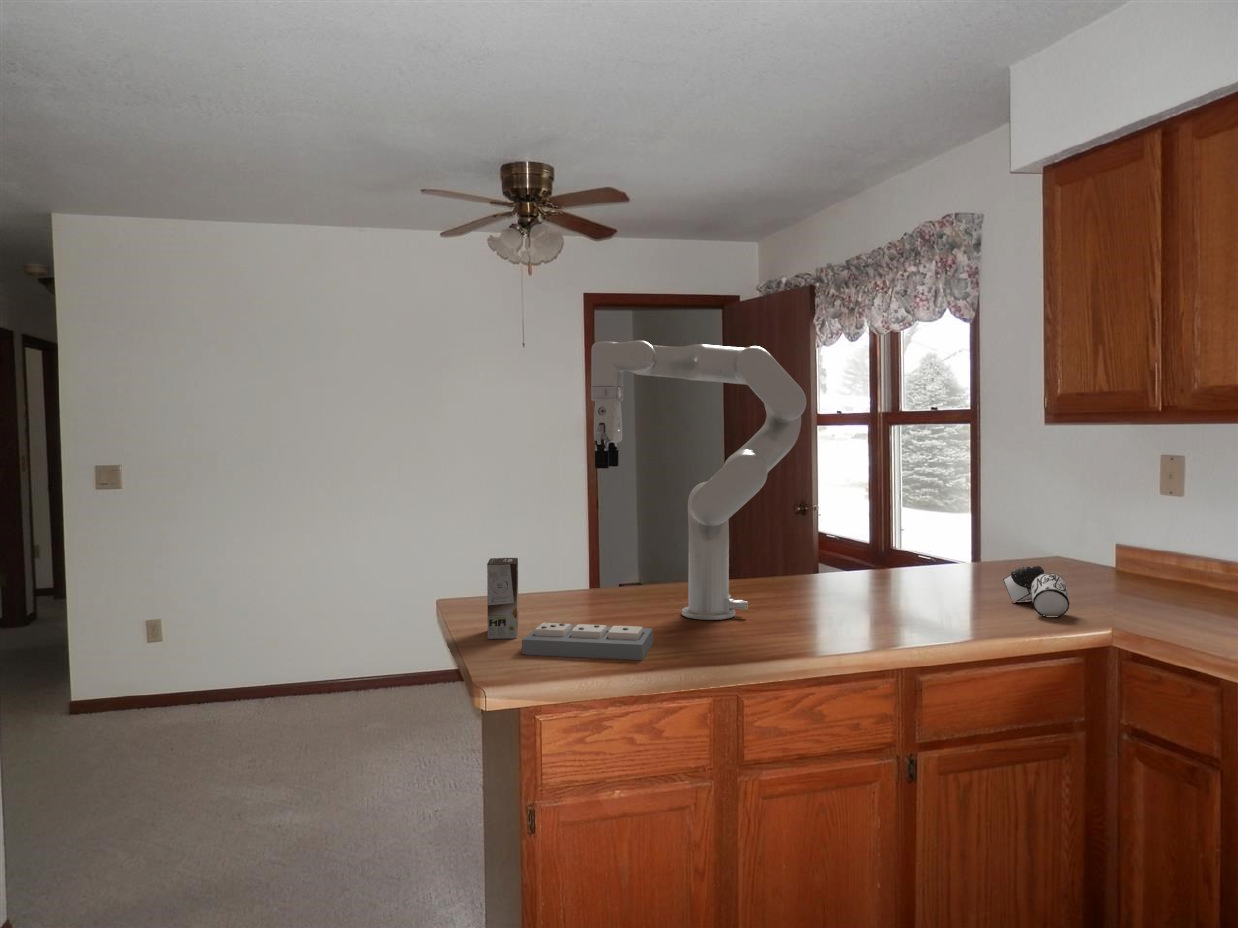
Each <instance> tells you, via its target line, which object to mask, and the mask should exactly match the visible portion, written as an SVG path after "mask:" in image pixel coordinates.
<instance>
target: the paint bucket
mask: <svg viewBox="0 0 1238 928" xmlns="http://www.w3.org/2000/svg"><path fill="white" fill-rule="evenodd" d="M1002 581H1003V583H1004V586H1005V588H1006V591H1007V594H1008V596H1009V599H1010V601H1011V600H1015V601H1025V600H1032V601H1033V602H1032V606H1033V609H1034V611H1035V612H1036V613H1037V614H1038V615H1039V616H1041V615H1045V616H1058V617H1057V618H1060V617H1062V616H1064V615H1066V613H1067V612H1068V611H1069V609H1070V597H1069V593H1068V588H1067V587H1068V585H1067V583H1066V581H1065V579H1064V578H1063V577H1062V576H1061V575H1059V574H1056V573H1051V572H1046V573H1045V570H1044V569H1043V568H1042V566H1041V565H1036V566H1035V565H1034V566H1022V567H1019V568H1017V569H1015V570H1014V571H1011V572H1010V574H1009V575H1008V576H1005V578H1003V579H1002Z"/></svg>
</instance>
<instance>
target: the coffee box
mask: <svg viewBox="0 0 1238 928" xmlns="http://www.w3.org/2000/svg"><path fill="white" fill-rule="evenodd" d="M486 566H487V567H486V569H487V570H486V573H487V581H486V582H487V586H486V587H487V590H486V591H487V592H486V593H487V639H489V640H494V639H495V640H498V639H500V640H501V639H505V640H506V639H510V640H511V639H517V637H518V632H519V559H518V557H498V558H497V557H496V558H495V557H492V558H490V559H489V560H488V562H487V563H486Z"/></svg>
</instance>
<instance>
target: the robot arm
mask: <svg viewBox="0 0 1238 928" xmlns="http://www.w3.org/2000/svg"><path fill="white" fill-rule="evenodd" d="M590 354H591V359H590V360H591V362H590V363H591V365H590V366H591V372H590V373H591V374H590V376H591V382H590V383H591V387H590V388H591V390H590V391H591V394H590V395H591V397H590V398H591V401H592V402H594V411H593V438H594V442H595V445H594V467H595V469H607V470H608V469H609V468H610V467H618V466H619V465H620V464H619V463H620V462H619V460H620V458H619V457H620V456H619V452H620V451H619V449H620V448H619V447H620V446H619V443H621V442H622V441H623V419H622V418H623V417H622V406H621V402H623V401H624V372H631V373H632V374H635V375H639V376H646V377H647V376H648V377H650V376H652V377H662V378H673V379H682V380H689V381H698V382H699V381H701V382H713V383H726V384H734V385H735V384H736V385H746V386H748V387H749V388H750V390H752V392H753V393H754V394H755V396H757V397H758V398H759V399H760V401H762V403H763V405H764V409H765V412H766V417H765V421H764V424H763V425H762V426H761V427H760V429H759V430H758V431H757V432H756V433H755V434H753V436H752V437H751V438H750V439H749V440H748V441H747V442H746V443H744V444H743V445H742V446H741V447H740V448H739V449H737V450H736V451H734V453H732V454H731V455H730V456H729V457H728V458H727V459H726V460H725V462H724V463H723V466H722V467H721V468H720V469H719V470H718V471H717V472H716V473H714V474H713V475H712V476H711V478H709V479H708V480H707V481H703V482H700V483H698V484H697V485H695V486H694V487H693V488H692V490H691V491H690V493H689V495H688V499H687V516H688V517H687V520H688V522H687V523H688V524H687V525H688V587H687V589H688V590H687V591H688V593H687V594H688V597H687V598H688V606H685V607H683V608H682V609H681V615H682V616H684V617H685V618H688V619H694V620H702V621H703V620H704V621H721V620H727V619H732V618H733V617H735V616H736V610H748V609H749V607H748V606H749V603H748V601H747V600H746V601H745V600H743V599H737V600H735V599H733V598H731V597H732V595H731V594H730V593H729V591H730V589H729V587H730V581H729V579H730V577H729V572H730V571H729V569H730V563H729V561H730V560H729V558H730V556H729V555H730V551H729V550H730V528H729V526H730V524H729V519H730V518H731V517H732V516H733V515H735V514H736V513H737V512H738V511H739V510H740V509H741V508H742V507H743V506H744V505H746V504H747V503H748V502H749V501H750V500H751V499H752V498H753V497H754V496H755V495H757V493H759V491H760V490H761V489H763V487H764V485H765V484H766V481H767V478H768V473H769V472H770V471H771V470H772V469H773V468H774V467H775V466H777V464H778V463H779V462H780V461H781V460H782V459H783V458H784V457H786V455H787V454H789V452H790V451H791V450H792V449H793V447H794V446H795V444H796V443H797V441H798V438H799V435H800V432H801V426H802V415H803V413H804V412H805V410H806V409H807V408H806V407H807V397H806V394H805V392H804V390H803V389H802V387H801V386H800V385H799V384H798V383H797V382H796V381H795V380H794V378H792V376H791V375H790V374H789V373H788V372H787V371H786V370H785V369H784V368H783V366H782V365H781V364H780V363H779V362H778V361H777V359H775V358H774V357H773V355H772V354H771V353H770V352H769V351H767V350H766V349H765V348H763V347H761V346H757V345H752V346H747V347H740V346H739V347H737V346H723V345H716V344H715V345H713V344H703V343H701V344H691V345H684V346H668V345H667V346H666V345H654V344H651V343H649V342H648V341H645V340H630V341H623V342H617V341H597V342H594V344H592V346H591V351H590Z"/></svg>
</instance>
